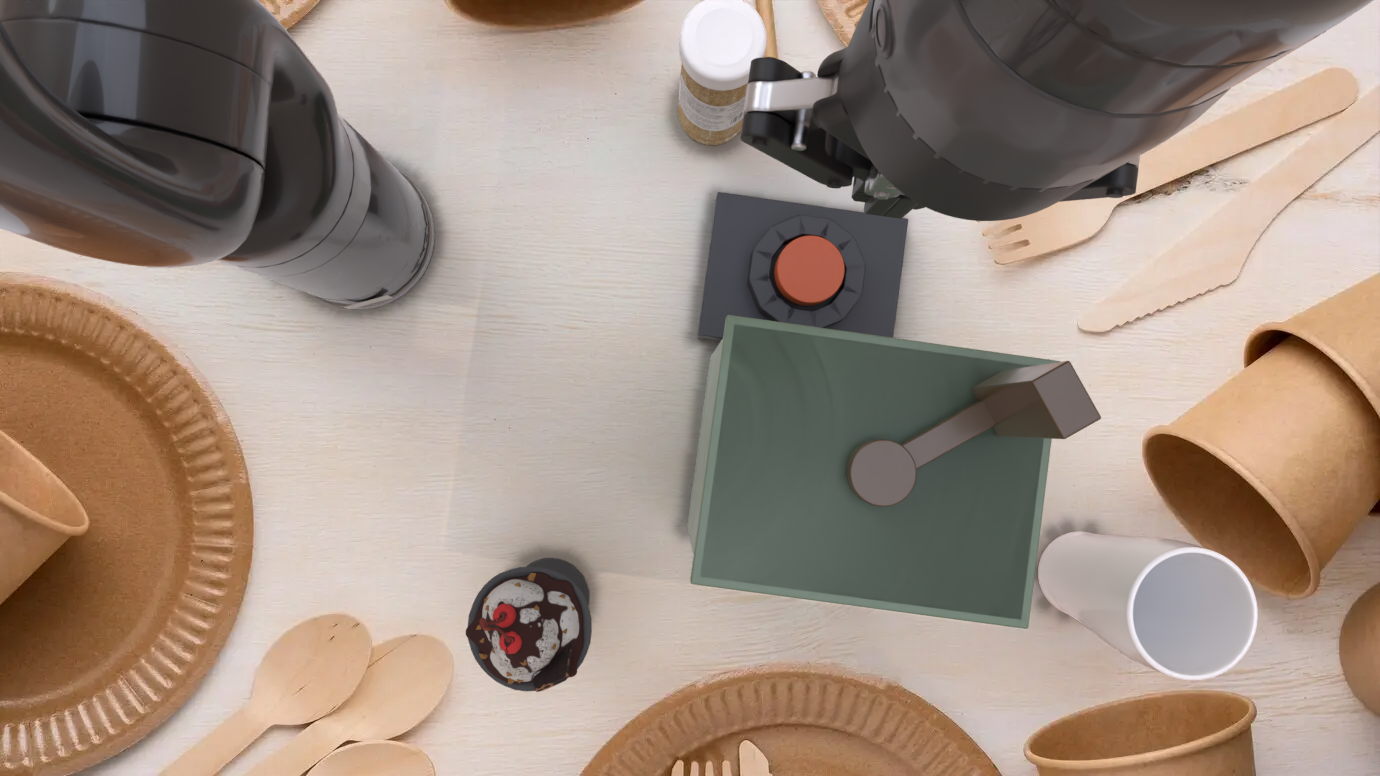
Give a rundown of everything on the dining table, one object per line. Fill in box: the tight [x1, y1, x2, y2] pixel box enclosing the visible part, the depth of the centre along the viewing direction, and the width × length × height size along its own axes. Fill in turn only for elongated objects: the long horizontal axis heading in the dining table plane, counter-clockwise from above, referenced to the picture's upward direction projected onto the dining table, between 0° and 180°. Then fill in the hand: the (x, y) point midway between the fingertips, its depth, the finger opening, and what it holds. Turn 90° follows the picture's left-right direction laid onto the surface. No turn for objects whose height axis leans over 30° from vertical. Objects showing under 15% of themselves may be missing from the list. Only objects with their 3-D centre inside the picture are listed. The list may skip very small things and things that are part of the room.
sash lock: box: [846, 360, 1102, 507], centre depth 41 cm, size 8×3×8 cm, turn 119°
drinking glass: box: [1037, 530, 1259, 681], centre depth 60 cm, size 7×7×15 cm
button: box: [774, 236, 845, 306], centre depth 63 cm, size 4×4×2 cm
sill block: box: [686, 315, 1061, 630], centre depth 56 cm, size 15×12×22 cm
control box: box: [696, 191, 909, 342], centre depth 65 cm, size 12×9×4 cm
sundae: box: [465, 557, 593, 693], centre depth 59 cm, size 7×7×15 cm
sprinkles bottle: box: [677, 0, 768, 146], centre depth 61 cm, size 5×5×14 cm
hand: (883, 190), depth 41 cm, fingers closed
